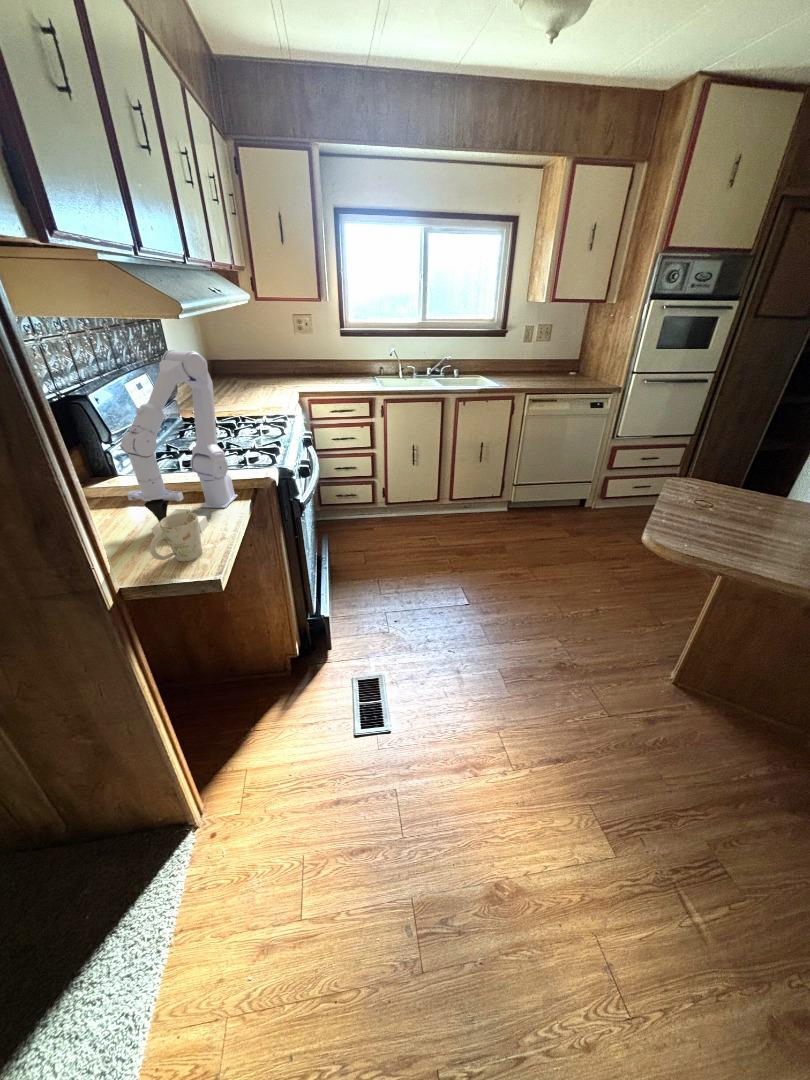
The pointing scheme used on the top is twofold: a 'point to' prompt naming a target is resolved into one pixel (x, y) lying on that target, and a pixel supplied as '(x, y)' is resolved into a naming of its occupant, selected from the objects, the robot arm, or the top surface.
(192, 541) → the mug
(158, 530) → the t block
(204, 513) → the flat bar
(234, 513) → the top surface
